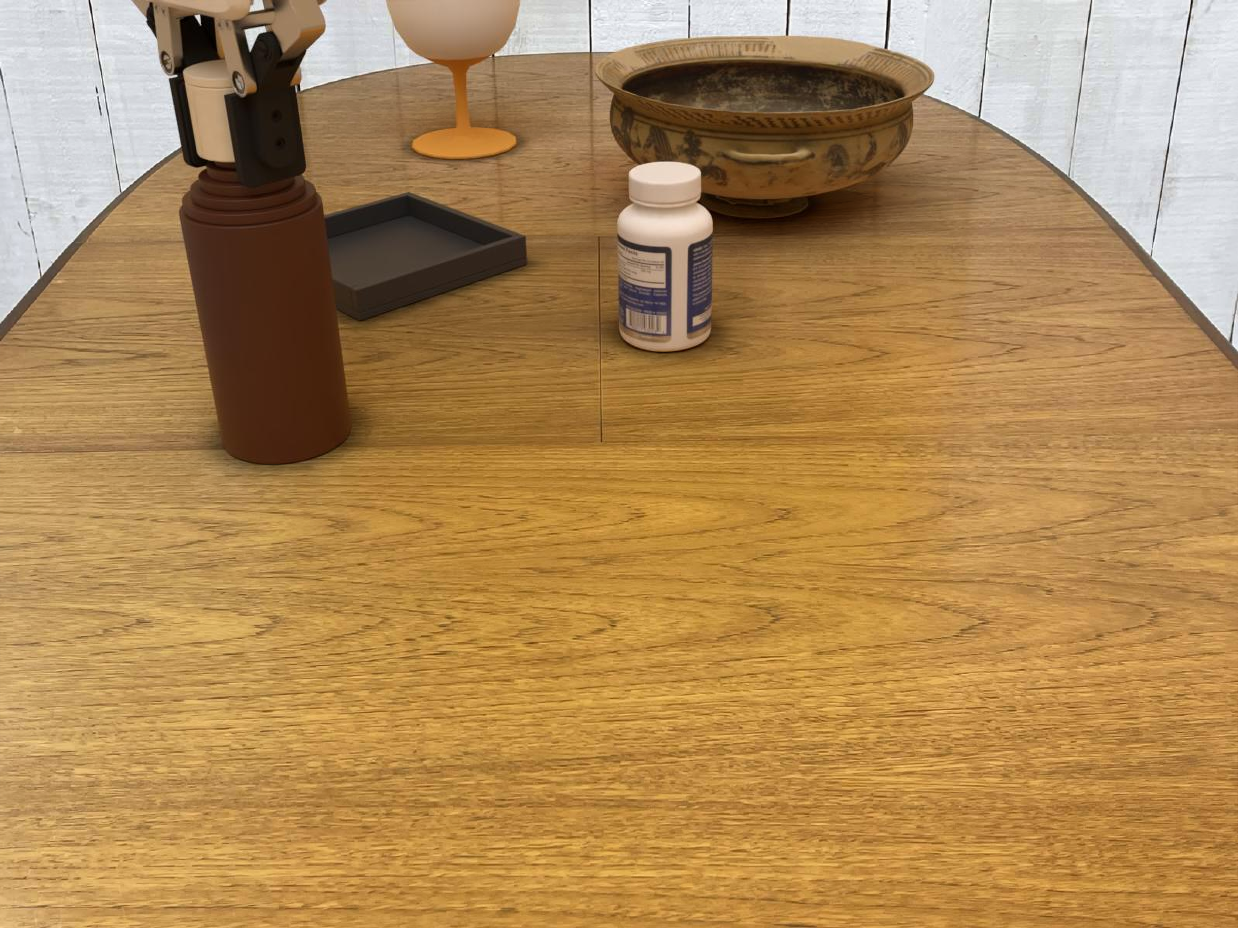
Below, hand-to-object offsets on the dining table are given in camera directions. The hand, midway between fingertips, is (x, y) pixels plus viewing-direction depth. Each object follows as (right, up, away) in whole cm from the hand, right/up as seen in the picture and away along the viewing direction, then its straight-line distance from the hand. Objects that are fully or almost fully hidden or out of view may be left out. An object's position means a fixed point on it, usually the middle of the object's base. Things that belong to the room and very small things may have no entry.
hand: (245, 165), depth 57 cm
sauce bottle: (0, -12, +7) cm, 14 cm away
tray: (+1, 0, +27) cm, 27 cm away
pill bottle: (+20, -6, +17) cm, 27 cm away
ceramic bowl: (+27, +6, +37) cm, 47 cm away
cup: (+4, +14, +52) cm, 53 cm away
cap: (0, +1, 0) cm, 1 cm away
